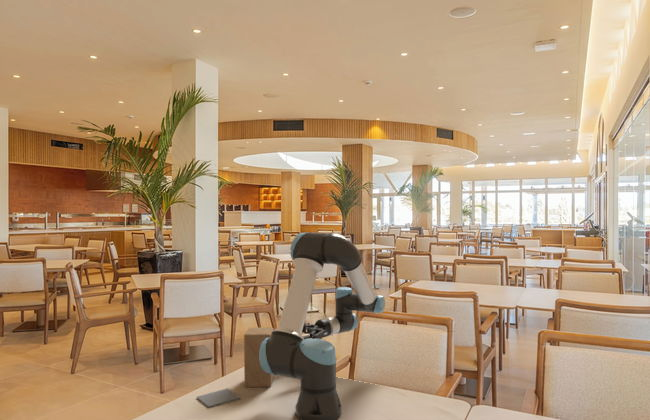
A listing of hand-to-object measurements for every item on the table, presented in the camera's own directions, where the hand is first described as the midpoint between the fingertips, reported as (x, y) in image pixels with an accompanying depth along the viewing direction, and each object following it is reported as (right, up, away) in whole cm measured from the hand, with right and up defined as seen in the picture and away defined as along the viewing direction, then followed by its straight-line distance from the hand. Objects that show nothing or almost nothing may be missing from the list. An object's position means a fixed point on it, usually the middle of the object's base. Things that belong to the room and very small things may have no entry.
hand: (285, 336), depth 188 cm
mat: (-22, -16, -22) cm, 35 cm away
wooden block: (-9, -16, -7) cm, 20 cm away
